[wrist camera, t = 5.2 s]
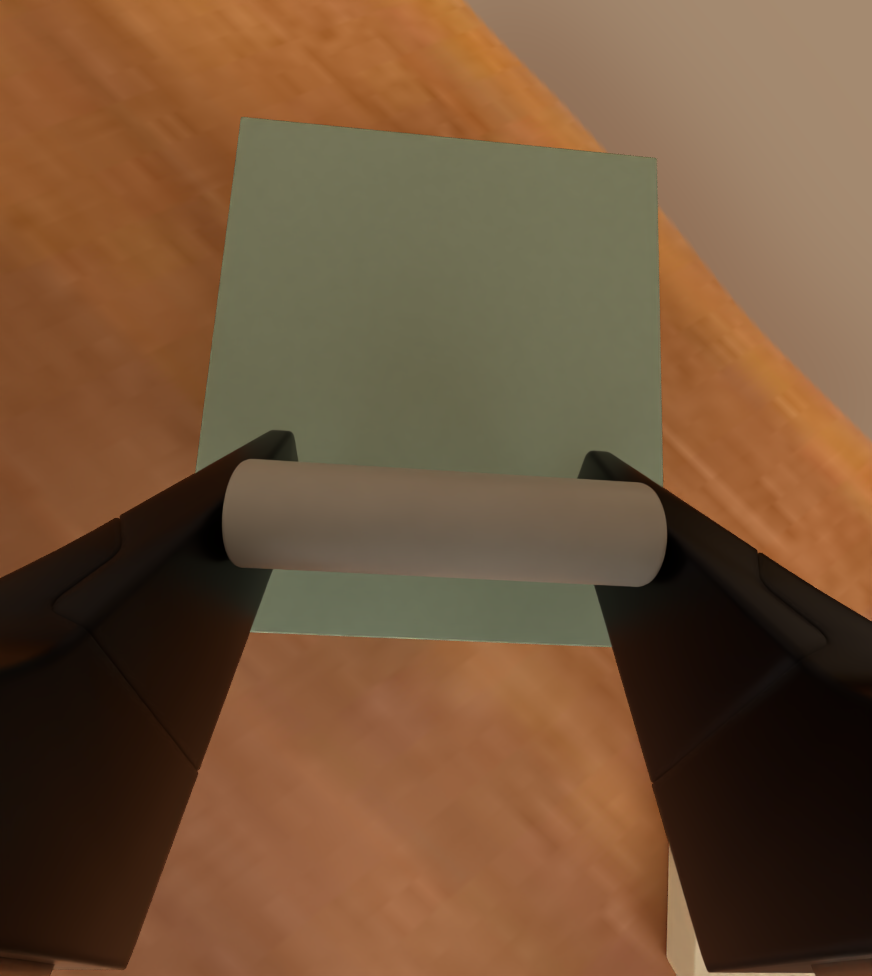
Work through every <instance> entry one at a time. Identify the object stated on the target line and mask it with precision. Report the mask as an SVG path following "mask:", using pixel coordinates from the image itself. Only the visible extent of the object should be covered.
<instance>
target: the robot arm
mask: <svg viewBox="0 0 872 976" xmlns="http://www.w3.org/2000/svg"><path fill="white" fill-rule="evenodd" d="M248 459H262V460H278V461H295V462H298V455H297V449H296V442H295V437H294V434H293V433H292V432H291V431H286V430H270V431H268V432H266V433H265V434H263V435H261V436H259V437H257V438H256V439H254V440H252V441H250V442H249V443H247V444H245V445H243V446H242V447H240V448H238V449H236V450H235V451H233V452H231V453H229V454H227V455H226V456H224V457H222V458H220V459H219V460H217V461H215V462H213V463H212V464H210V465H208V466H206V467H205V468H203V469H201V470H199V471H197V472H196V473H194V474H192V475H190V476H189V477H187V478H185V479H183V480H182V481H180V482H178V483H176V484H174V485H173V486H171V487H169V488H167V489H166V490H164V491H162V492H160V493H159V494H157V495H155V496H153V497H151V498H150V499H148V500H146V501H144V502H143V503H141V504H139V505H137V506H136V507H134V508H132V509H130V510H128V511H127V512H125V513H123V514H121V515H120V519H119V518H114V519H112V520H111V521H109V522H107V523H105V524H104V525H102V526H100V527H98V528H97V529H95V530H93V531H91V532H89V533H87V534H86V535H84V536H82V537H80V538H78V539H76V540H75V541H73V542H71V543H69V544H67V545H65V546H64V547H62V548H60V549H58V550H56V551H54V552H52V553H50V554H48V555H46V556H44V557H42V558H40V559H38V560H36V561H34V562H32V563H30V564H28V565H26V566H24V567H22V568H20V569H18V570H16V571H14V572H12V573H10V574H8V575H6V576H4V577H2V578H0V976H50V974H51V972H52V970H124V969H125V968H126V967H127V964H128V962H129V959H130V957H131V955H132V952H133V949H134V947H135V944H136V942H137V939H138V936H139V933H140V931H141V928H142V925H143V923H144V920H145V917H146V914H147V912H148V909H149V906H150V903H151V901H152V898H153V895H154V893H155V890H156V887H157V884H158V882H159V879H160V876H161V874H162V871H163V868H164V865H165V863H166V860H167V857H168V854H169V852H170V849H171V846H172V844H173V841H174V838H175V835H176V833H177V830H178V827H179V825H180V822H181V819H182V816H183V814H184V811H185V808H186V805H187V803H188V800H189V797H190V795H191V792H192V789H193V786H194V784H195V781H196V778H197V775H198V771H197V770H199V769H200V767H201V764H202V761H203V758H204V756H205V753H206V750H207V748H208V745H209V742H210V739H211V737H212V734H213V731H214V728H215V726H216V723H217V720H218V718H219V715H220V712H221V709H222V707H223V704H224V701H225V699H226V696H227V693H228V690H229V688H230V685H231V682H232V680H233V677H234V674H235V671H236V669H237V666H238V663H239V660H240V658H241V655H242V652H243V650H244V647H245V644H246V641H247V639H248V636H249V633H250V631H251V628H252V625H253V622H254V620H255V617H256V614H257V612H258V609H259V606H260V603H261V601H262V598H263V595H264V592H265V590H266V587H267V584H268V582H269V579H270V576H271V573H272V571H273V569H261V568H241V567H238V566H236V565H234V564H233V563H232V562H231V561H230V560H229V558H228V556H227V553H226V551H225V547H224V542H223V534H222V513H223V504H224V499H225V494H226V490H227V486H228V483H229V481H230V478H231V476H232V474H233V472H234V470H235V469H236V467H237V466H238V465H239V464H240V463H241V462H243V461H245V460H248ZM577 479H590V480H606V481H623V482H638V483H643V484H645V485H647V486H649V487H650V488H652V489H653V490H654V492H655V493H656V494H657V496H658V497H659V499H660V501H661V504H662V506H663V509H664V513H665V518H666V524H667V545H666V552H665V556H664V560H663V563H662V566H661V568H660V570H659V572H658V574H657V575H656V577H655V578H654V579H653V580H652V581H651V582H650V583H648V584H646V585H644V586H640V587H631V586H611V585H594V587H595V591H596V594H597V597H598V601H599V604H600V608H601V611H602V615H603V618H604V621H605V625H606V628H607V632H608V635H609V639H610V642H611V646H612V649H613V652H614V656H615V659H616V663H617V666H618V670H619V673H620V676H621V680H622V683H623V687H624V690H625V694H626V697H627V701H628V704H629V707H630V711H631V714H632V718H633V721H634V725H635V728H636V731H637V735H638V738H639V742H640V745H641V749H642V752H643V755H644V759H645V762H646V766H647V769H648V773H649V776H650V780H651V782H653V784H652V788H653V791H654V794H655V798H656V801H657V805H658V808H659V812H660V815H661V818H662V822H663V825H664V829H665V832H666V836H667V839H668V842H669V846H670V849H671V853H672V856H673V860H674V863H675V867H676V870H677V873H678V877H679V880H680V884H681V887H682V891H683V894H684V897H685V901H686V904H687V908H688V911H689V915H690V918H691V921H692V925H693V928H694V932H695V935H696V939H697V942H698V945H699V949H700V952H701V955H702V958H703V961H704V964H705V967H706V969H707V971H708V972H709V973H815V976H872V621H870V620H868V619H867V618H865V617H863V616H862V615H860V614H858V613H856V612H855V611H853V610H851V609H850V608H848V607H846V606H845V605H843V604H841V603H840V602H838V601H837V600H835V599H833V598H832V597H830V596H828V595H827V594H825V593H823V592H822V591H820V590H818V589H817V588H815V587H813V586H812V585H810V584H809V583H807V582H806V581H804V580H802V579H801V578H799V577H798V576H796V575H795V574H793V573H792V572H790V571H788V570H787V569H785V568H784V567H782V566H781V565H779V564H778V563H776V562H775V561H773V560H772V559H770V558H769V557H767V556H766V555H764V554H763V553H758V552H757V550H756V549H755V548H753V547H752V546H750V545H749V544H747V543H746V542H744V541H743V540H741V539H740V538H738V537H737V536H735V535H734V534H732V533H731V532H729V531H728V530H726V529H725V528H723V527H722V526H720V525H719V524H717V523H716V522H714V521H713V520H711V519H710V518H708V517H707V516H705V515H704V514H702V513H701V512H699V511H698V510H696V509H695V508H693V507H692V506H690V505H689V504H687V503H686V502H684V501H683V500H681V499H680V498H678V497H677V496H675V495H674V494H672V493H671V492H669V491H668V490H666V489H665V488H663V487H662V486H660V485H659V484H657V483H655V482H654V481H652V480H651V479H649V478H648V477H646V476H645V475H643V474H642V473H640V472H639V471H637V470H636V469H634V468H633V467H631V466H630V465H628V464H627V463H625V462H624V461H622V460H621V459H619V458H618V457H616V456H615V455H613V454H612V453H610V452H607V451H589V452H588V453H587V454H586V456H585V458H584V461H583V463H582V466H581V469H580V472H579V474H578V477H577Z"/></svg>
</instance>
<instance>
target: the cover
mask: <svg viewBox="0 0 872 976" xmlns="http://www.w3.org/2000/svg"><path fill="white" fill-rule="evenodd" d="M657 196H658V195H657V159H656V158H651V157H641V156H631V155H621V154H611V153H601V152H591V151H581V150H571V149H561V148H551V147H541V146H531V145H520V144H510V143H500V142H490V141H480V140H470V139H460V138H450V137H440V136H430V135H420V134H410V133H400V132H389V131H379V130H369V129H359V128H349V127H339V126H329V125H319V124H309V123H299V122H289V121H279V120H269V119H258V118H248V117H241V121H240V129H239V137H238V145H237V152H236V160H235V168H234V176H233V184H232V191H231V199H230V207H229V215H228V223H227V230H226V238H225V246H224V254H223V261H222V269H221V277H220V285H219V293H218V300H217V308H216V316H215V324H214V332H213V339H212V347H211V355H210V363H209V370H208V378H207V386H206V394H205V402H204V409H203V417H202V425H201V433H200V441H199V448H198V456H197V464H196V472H197V471H199V470H201V469H203V468H205V467H206V466H208V465H210V464H212V463H213V462H215V461H217V460H219V459H220V458H222V457H224V456H226V455H227V454H229V453H231V452H233V451H235V450H236V449H238V448H240V447H242V446H243V445H245V444H247V443H249V442H250V441H252V440H254V439H256V438H257V437H259V436H261V435H263V434H265V433H266V432H268V431H270V430H286V431H291V432H292V433H293V434H294V437H295V442H296V449H297V455H298V462H295V461H278V460H262V459H248V460H245V461H243V462H241V463H240V464H239V465H238V466H237V467H236V469H235V470H234V472H233V474H232V476H231V478H230V481H229V483H228V486H227V490H226V494H225V499H224V504H223V513H222V534H223V542H224V547H225V551H226V553H227V556H228V558H229V560H230V561H231V562H232V563H233V564H234V565H236V566H238V567H241V568H261V569H273V571H272V573H271V576H270V579H269V582H268V584H267V587H266V590H265V592H264V595H263V598H262V601H261V603H260V606H259V609H258V612H257V614H256V617H255V620H254V622H253V625H252V628H251V631H250V632H256V633H280V634H304V635H328V636H353V637H377V638H401V639H425V640H449V641H473V642H497V643H521V644H546V645H570V646H594V647H612V646H611V642H610V639H609V635H608V632H607V628H606V625H605V621H604V618H603V615H602V611H601V608H600V604H599V601H598V597H597V594H596V591H595V587H594V585H611V586H631V587H640V586H644V585H646V584H648V583H650V582H651V581H652V580H653V579H654V578H655V577H656V575H657V574H658V572H659V570H660V568H661V566H662V563H663V560H664V556H665V552H666V545H667V524H666V518H665V513H664V509H663V506H662V504H661V501H660V499H659V497H658V496H657V494H656V493H655V492H654V490H653V489H652V488H650V487H649V486H647V485H645V484H643V483H638V482H623V481H606V480H590V479H577V477H578V474H579V472H580V469H581V466H582V463H583V461H584V458H585V456H586V454H587V453H588V452H589V451H607V452H610V453H612V454H613V455H615V456H616V457H618V458H619V459H621V460H622V461H624V462H625V463H627V464H628V465H630V466H631V467H633V468H634V469H636V470H637V471H639V472H640V473H642V474H643V475H645V476H646V477H648V478H649V479H651V480H652V481H654V482H655V483H657V484H659V485H660V486H662V487H663V455H662V403H661V351H660V299H659V247H658V197H657ZM196 472H195V473H196Z"/></svg>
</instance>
